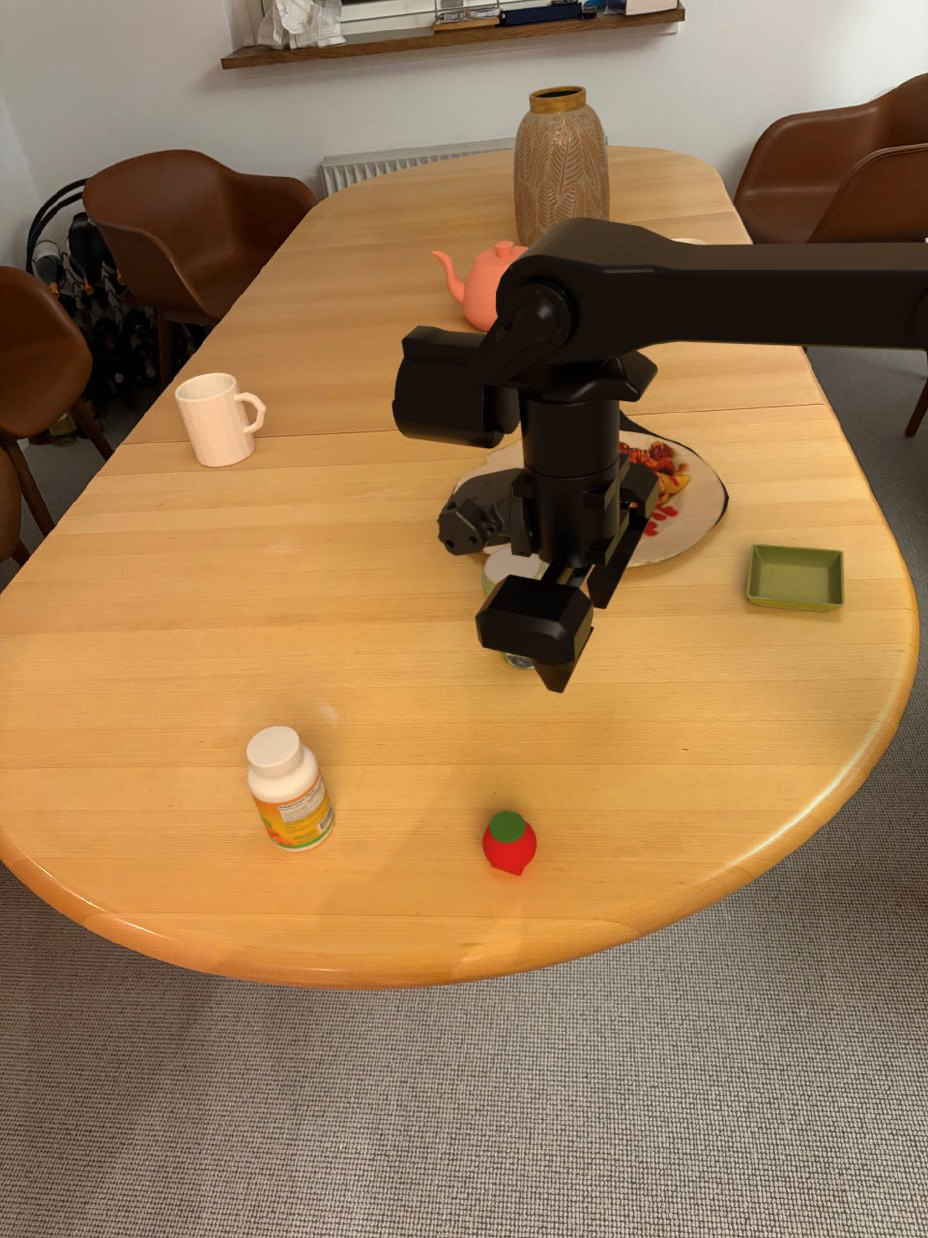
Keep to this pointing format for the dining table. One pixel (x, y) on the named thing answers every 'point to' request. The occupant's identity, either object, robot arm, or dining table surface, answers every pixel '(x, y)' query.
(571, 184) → the vase
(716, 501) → the omelette plate
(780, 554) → the green shallow tray
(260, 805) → the supplement bottle
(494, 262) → the teapot
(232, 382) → the mug
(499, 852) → the strawberry
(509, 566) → the beverage can
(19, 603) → the dining table surface
